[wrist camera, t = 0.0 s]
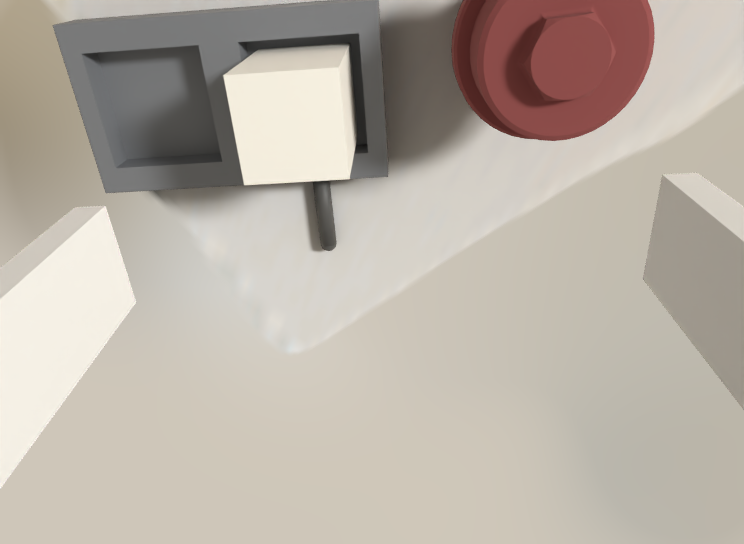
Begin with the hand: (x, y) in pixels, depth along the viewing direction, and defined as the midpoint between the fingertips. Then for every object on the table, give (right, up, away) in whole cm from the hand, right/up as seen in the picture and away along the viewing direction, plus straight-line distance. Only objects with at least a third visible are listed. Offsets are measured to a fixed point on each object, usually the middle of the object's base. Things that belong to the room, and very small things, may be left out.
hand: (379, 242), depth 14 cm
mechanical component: (+9, +15, +24) cm, 30 cm away
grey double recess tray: (-9, +9, +28) cm, 30 cm away
